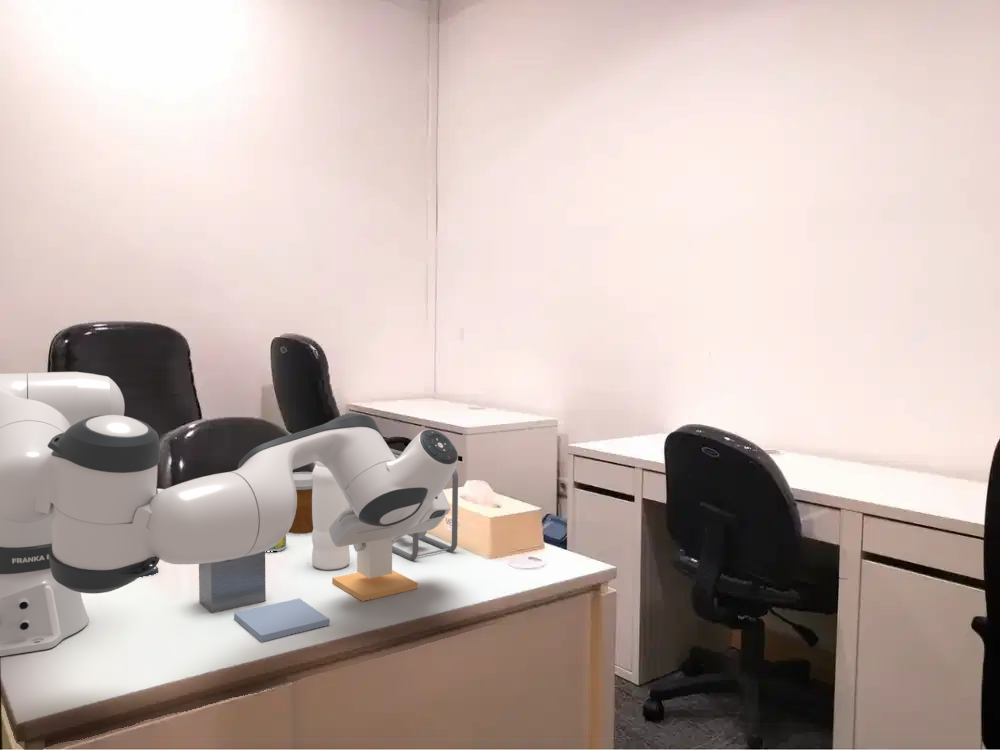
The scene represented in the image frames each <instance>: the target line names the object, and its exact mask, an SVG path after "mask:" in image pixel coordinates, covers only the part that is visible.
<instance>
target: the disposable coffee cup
mask: <svg viewBox="0 0 1000 750" xmlns="http://www.w3.org/2000/svg"><path fill="white" fill-rule="evenodd" d="M312 472H313V471H311V472H310V471H299V472H293V478H294V483H295V488H296V492H297V508H296V513H295V518H294V521H293V523H292V526H291V528H290V530H289V531H290V532H289V531H288V532H289V533H292V532H293V533H294V534H307V533H312V532H313V519H312V489H313V480H312ZM293 533H292V534H293Z"/></svg>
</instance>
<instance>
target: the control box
mask: <svg viewBox="0 0 1000 750" xmlns="http://www.w3.org/2000/svg"><path fill="white" fill-rule="evenodd" d="M198 591H199V592H198V598H199V603H200V604H201V605H202V606H203V607H205V608H206V609H207V610H208V611H209V612H210V613H212V614H213V613H218V612H223V611H228V610H232V609H236V608H241V607H245V606H250V605H255V604H259V603H264V602H266V599H267V597H266V595H267V594H266V552H265V551H263V552H260V553H257V554H253V555H249V556H245V557H241V558H236V559H231V560H226V561H220V562H213V563H204V564H198Z"/></svg>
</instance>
